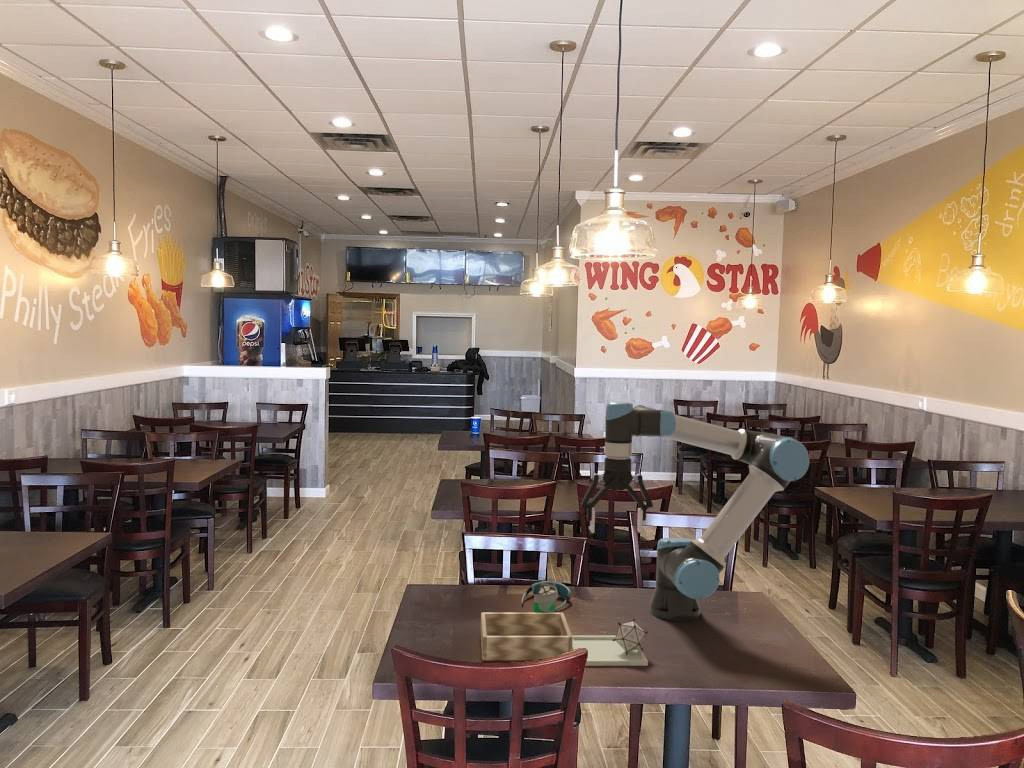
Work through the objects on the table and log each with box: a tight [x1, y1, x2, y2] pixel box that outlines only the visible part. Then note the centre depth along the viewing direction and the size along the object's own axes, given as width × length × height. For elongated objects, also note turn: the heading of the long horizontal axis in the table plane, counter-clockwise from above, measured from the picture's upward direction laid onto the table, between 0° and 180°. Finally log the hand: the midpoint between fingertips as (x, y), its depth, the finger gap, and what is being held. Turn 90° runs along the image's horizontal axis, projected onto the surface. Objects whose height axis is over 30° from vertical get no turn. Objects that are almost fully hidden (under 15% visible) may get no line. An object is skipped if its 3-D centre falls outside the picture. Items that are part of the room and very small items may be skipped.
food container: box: [533, 583, 559, 613], centre depth 221 cm, size 12×6×10 cm, turn 168°
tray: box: [571, 634, 649, 667], centre depth 202 cm, size 18×17×1 cm
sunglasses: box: [521, 580, 572, 612], centre depth 238 cm, size 14×15×5 cm
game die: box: [612, 617, 650, 655], centre depth 201 cm, size 9×8×10 cm
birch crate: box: [480, 611, 573, 661], centre depth 204 cm, size 23×18×6 cm
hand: (615, 531), depth 215 cm, fingers open, 13 cm apart
